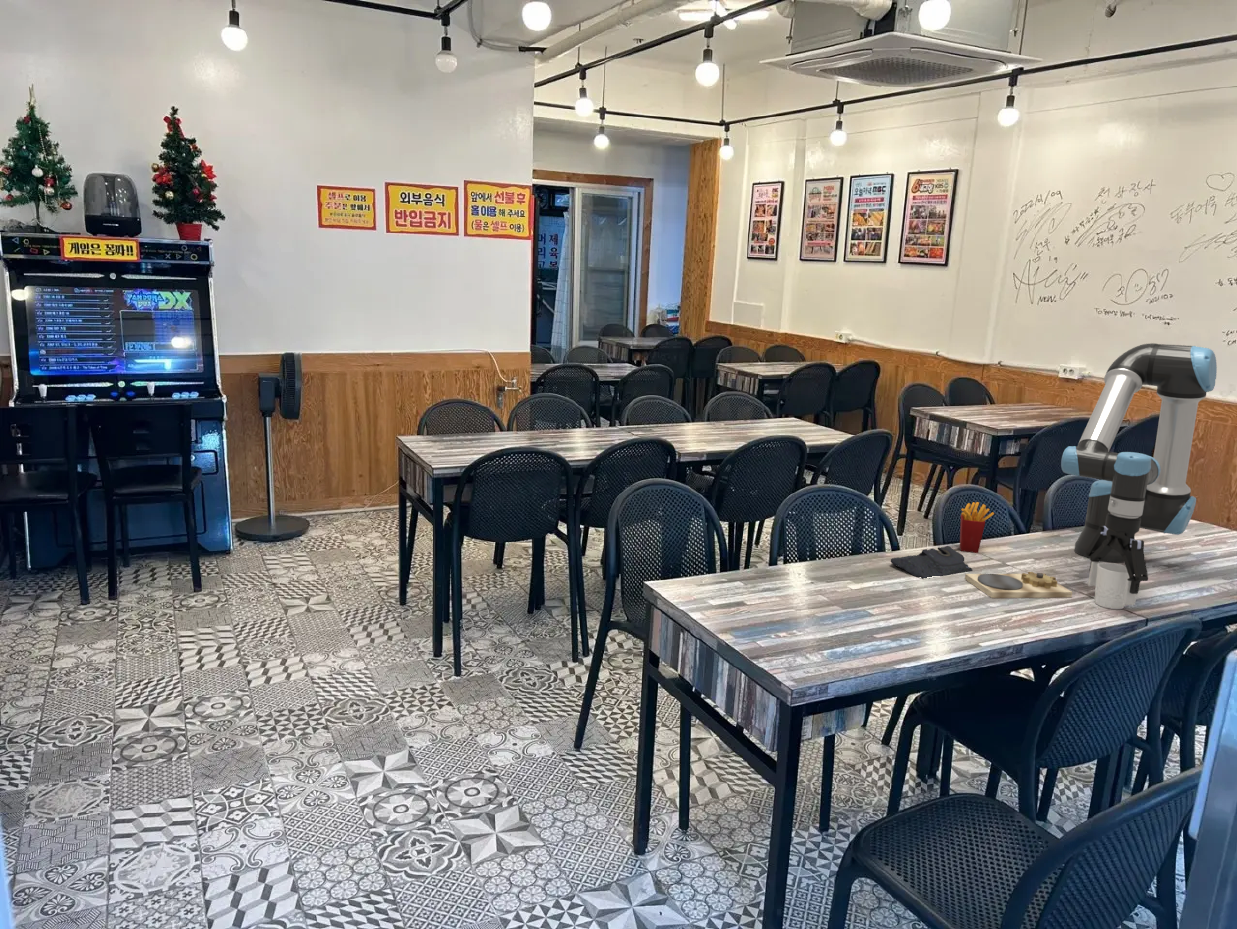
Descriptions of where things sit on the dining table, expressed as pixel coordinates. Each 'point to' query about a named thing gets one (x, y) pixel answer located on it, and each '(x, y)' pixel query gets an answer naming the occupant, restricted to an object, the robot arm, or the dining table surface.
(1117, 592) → the white cup
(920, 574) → the dark slate chunk
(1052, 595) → the gear board
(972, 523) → the french fries
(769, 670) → the dining table surface
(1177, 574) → the dining table surface
